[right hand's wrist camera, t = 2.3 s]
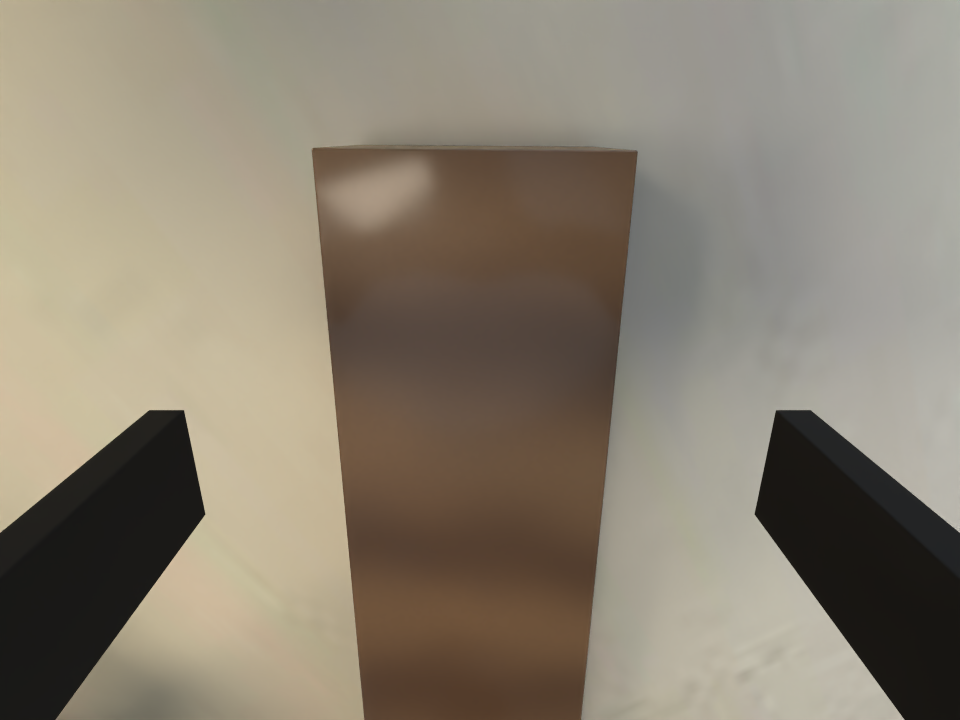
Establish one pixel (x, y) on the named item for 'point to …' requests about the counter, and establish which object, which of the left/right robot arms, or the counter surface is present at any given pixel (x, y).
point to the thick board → (473, 413)
